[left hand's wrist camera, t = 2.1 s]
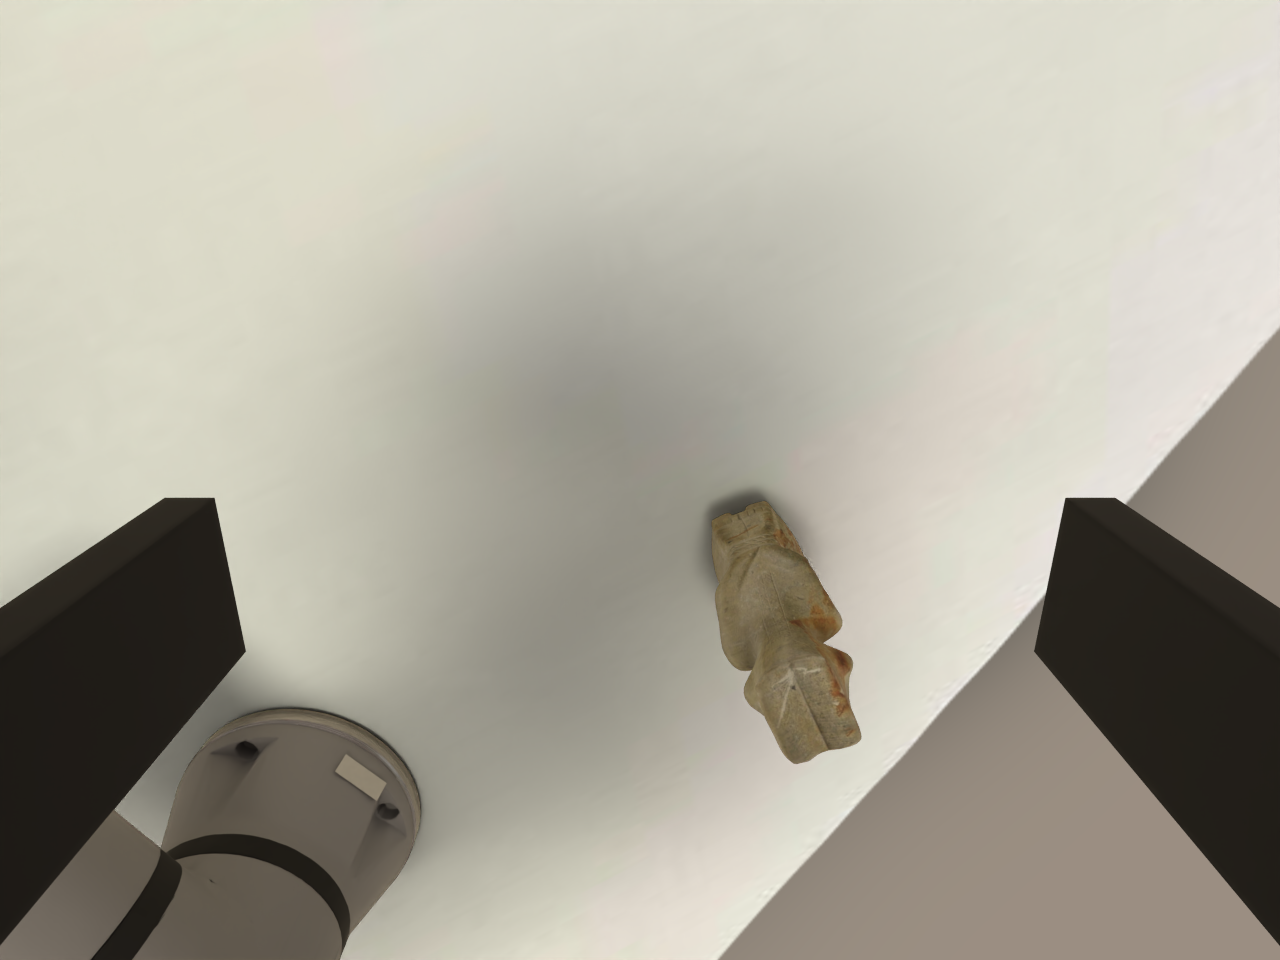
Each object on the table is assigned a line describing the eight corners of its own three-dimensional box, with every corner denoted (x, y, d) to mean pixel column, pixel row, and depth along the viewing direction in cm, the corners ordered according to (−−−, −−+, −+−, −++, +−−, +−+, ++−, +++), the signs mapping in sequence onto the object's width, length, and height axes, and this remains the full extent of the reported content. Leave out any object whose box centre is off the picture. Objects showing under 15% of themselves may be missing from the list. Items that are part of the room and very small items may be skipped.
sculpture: (725, 612, 48) (760, 791, 34) (687, 508, 46) (708, 654, 32) (818, 583, 47) (893, 754, 33) (785, 476, 45) (851, 612, 31)
